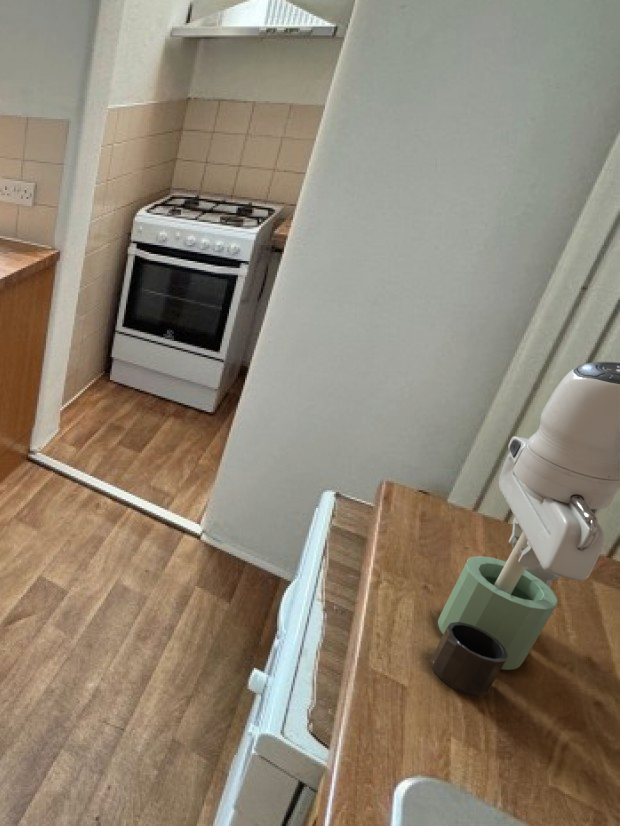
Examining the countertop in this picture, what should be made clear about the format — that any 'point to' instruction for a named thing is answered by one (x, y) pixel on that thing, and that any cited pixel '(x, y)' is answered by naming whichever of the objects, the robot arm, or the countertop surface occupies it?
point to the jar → (500, 607)
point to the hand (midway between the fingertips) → (521, 556)
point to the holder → (468, 659)
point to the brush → (512, 568)
